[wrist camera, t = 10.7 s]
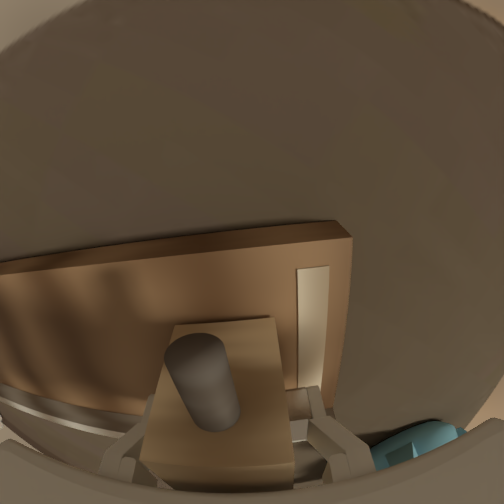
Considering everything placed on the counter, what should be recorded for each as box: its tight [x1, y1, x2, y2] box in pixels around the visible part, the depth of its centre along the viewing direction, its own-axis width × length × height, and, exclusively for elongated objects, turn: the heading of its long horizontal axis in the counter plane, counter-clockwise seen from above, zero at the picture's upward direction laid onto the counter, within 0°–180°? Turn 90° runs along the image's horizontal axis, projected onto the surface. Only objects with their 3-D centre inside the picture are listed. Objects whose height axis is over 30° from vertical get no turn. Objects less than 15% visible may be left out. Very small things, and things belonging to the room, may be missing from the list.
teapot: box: [370, 421, 467, 471], centre depth 18 cm, size 15×15×11 cm
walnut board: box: [0, 221, 353, 442], centre depth 12 cm, size 28×12×4 cm, turn 96°
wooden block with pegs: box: [139, 317, 295, 493], centre depth 9 cm, size 4×11×6 cm, turn 6°
